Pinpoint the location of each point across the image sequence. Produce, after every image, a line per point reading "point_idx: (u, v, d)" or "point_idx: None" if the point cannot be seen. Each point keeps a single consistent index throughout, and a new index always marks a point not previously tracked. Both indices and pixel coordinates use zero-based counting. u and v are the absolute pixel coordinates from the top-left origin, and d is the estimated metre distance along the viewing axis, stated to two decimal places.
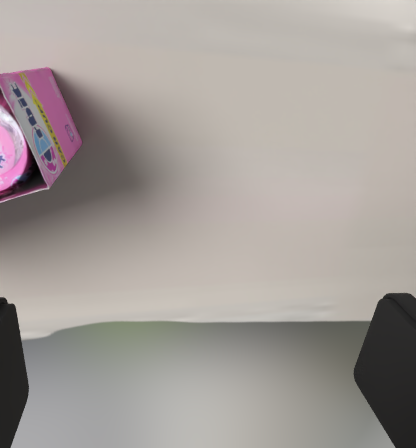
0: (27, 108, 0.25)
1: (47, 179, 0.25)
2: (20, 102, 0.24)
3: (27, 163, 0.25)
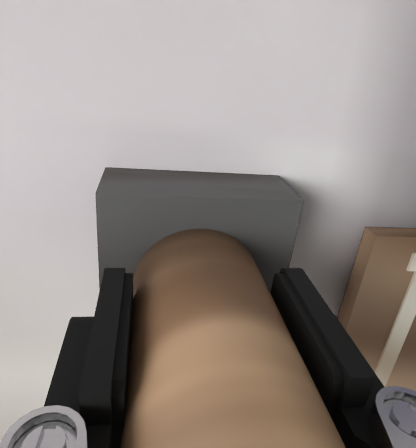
0: None
1: None
2: None
3: None
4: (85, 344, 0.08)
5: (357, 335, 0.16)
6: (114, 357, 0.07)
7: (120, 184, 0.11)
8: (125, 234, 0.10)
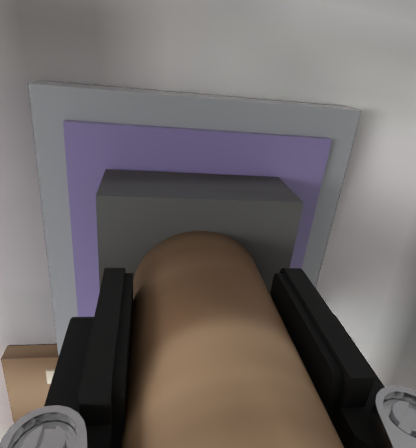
0: None
1: None
2: None
3: None
4: (85, 344, 0.08)
5: None
6: (113, 357, 0.07)
7: (120, 187, 0.11)
8: (125, 236, 0.10)
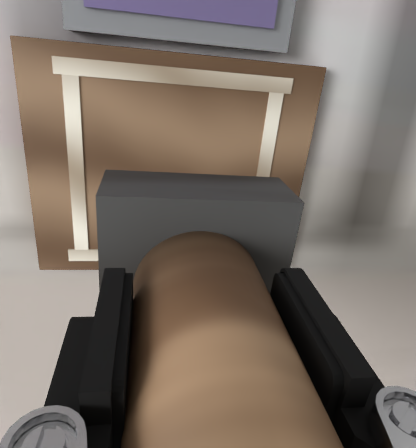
0: None
1: None
2: None
3: None
4: (85, 344, 0.08)
5: (36, 140, 0.19)
6: (114, 357, 0.07)
7: (120, 187, 0.11)
8: (125, 236, 0.10)
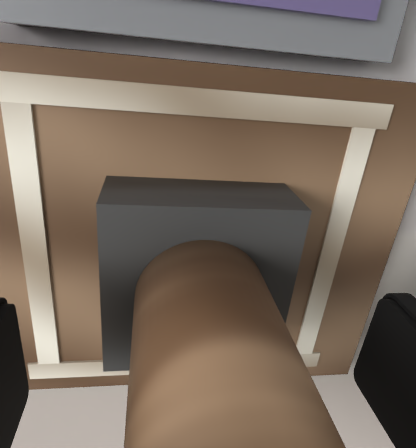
0: None
1: None
2: None
3: None
4: None
5: None
6: None
7: (121, 194, 0.10)
8: (127, 245, 0.10)
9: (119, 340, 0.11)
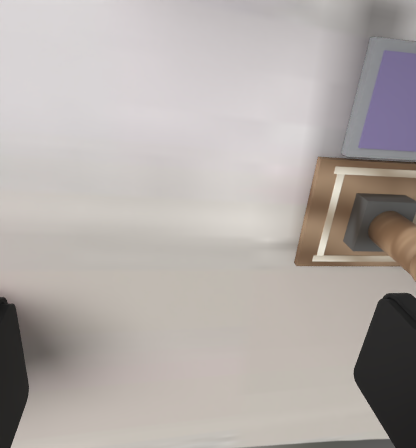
0: None
1: None
2: None
3: None
4: None
5: (316, 203, 0.40)
6: None
7: (369, 198, 0.38)
8: (371, 212, 0.38)
9: (360, 240, 0.40)
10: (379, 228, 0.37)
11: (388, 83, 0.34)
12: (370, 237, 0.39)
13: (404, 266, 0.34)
